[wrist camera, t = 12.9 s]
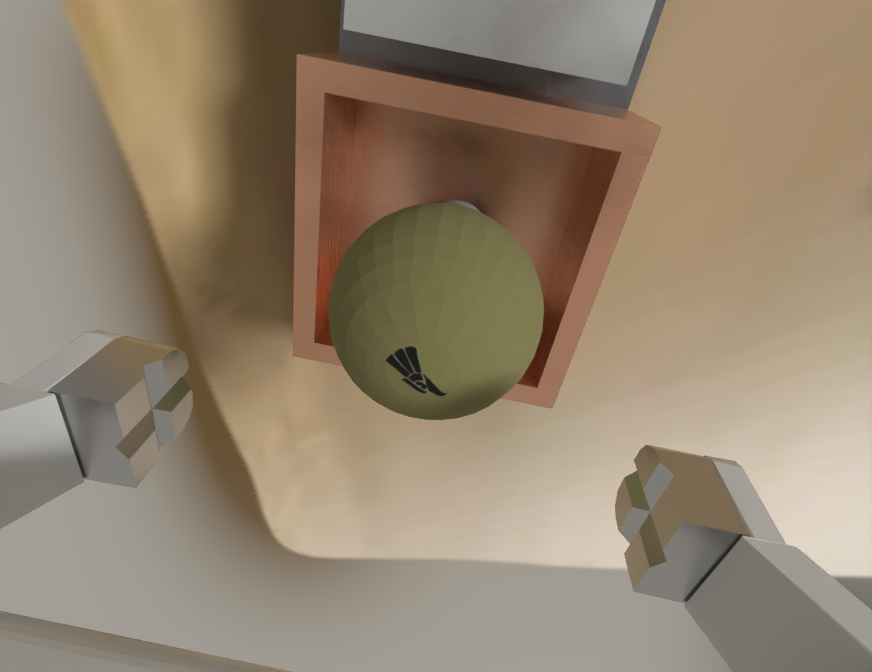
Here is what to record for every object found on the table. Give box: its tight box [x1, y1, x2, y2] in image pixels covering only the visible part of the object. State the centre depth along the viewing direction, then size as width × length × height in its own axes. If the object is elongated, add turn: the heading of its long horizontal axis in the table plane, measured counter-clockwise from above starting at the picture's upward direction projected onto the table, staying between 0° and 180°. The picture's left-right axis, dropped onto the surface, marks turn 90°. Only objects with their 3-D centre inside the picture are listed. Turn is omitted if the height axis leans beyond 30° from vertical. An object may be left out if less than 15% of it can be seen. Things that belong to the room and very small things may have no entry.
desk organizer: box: [293, 0, 666, 408], centre depth 15 cm, size 24×10×6 cm, turn 170°
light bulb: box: [328, 200, 544, 420], centre depth 15 cm, size 6×6×10 cm
